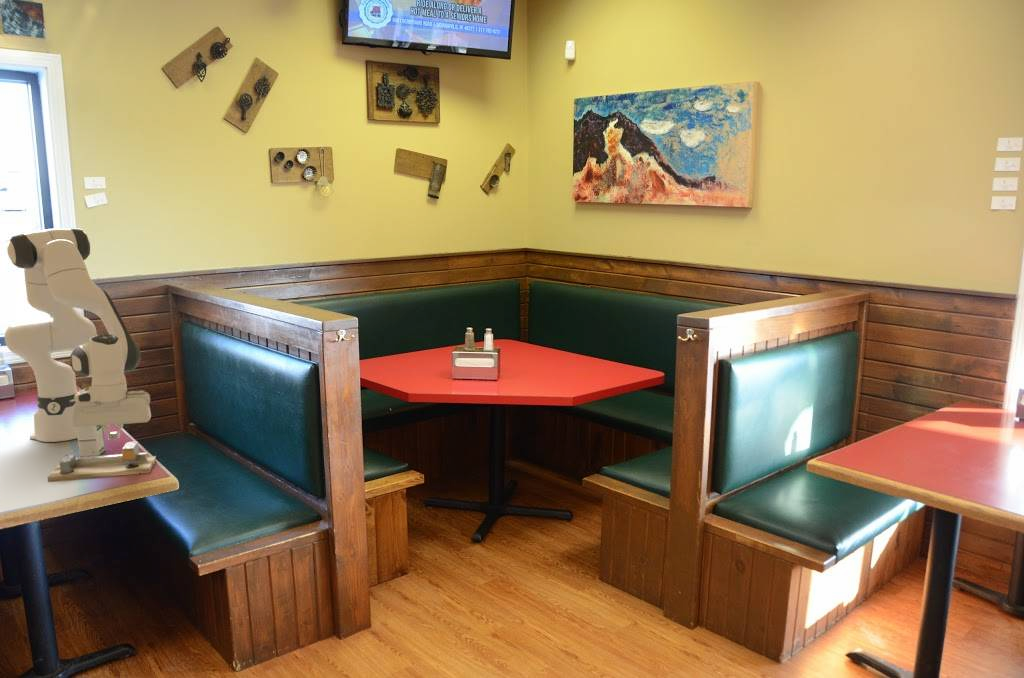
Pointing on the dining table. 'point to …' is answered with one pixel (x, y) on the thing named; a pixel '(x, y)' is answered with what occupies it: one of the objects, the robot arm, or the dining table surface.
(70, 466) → the trammel bar
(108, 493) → the dining table surface
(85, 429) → the syrup box
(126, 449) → the block
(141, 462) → the hole board
